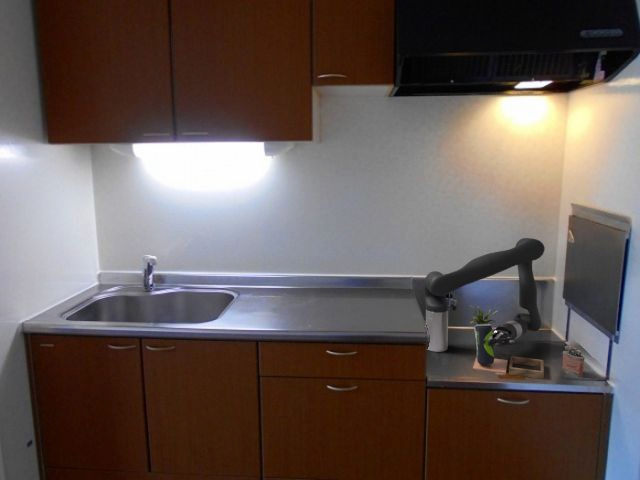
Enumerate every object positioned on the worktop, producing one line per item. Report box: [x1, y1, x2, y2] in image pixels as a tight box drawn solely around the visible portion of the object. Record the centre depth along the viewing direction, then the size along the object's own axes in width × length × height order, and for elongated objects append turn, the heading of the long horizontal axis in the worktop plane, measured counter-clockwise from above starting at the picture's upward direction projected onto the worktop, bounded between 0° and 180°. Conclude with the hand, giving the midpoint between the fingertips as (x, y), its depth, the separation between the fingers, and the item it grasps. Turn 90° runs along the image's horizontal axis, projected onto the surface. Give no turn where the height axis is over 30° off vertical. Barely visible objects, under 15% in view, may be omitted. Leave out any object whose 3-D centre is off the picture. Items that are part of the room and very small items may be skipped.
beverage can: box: [475, 323, 495, 364], centre depth 195 cm, size 6×6×15 cm
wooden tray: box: [508, 355, 545, 380], centre depth 190 cm, size 12×12×2 cm
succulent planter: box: [561, 345, 585, 378], centre depth 186 cm, size 8×3×10 cm, turn 29°
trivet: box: [472, 355, 509, 375], centre depth 195 cm, size 12×12×1 cm
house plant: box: [468, 305, 499, 339], centre depth 220 cm, size 14×14×16 cm
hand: (486, 342), depth 191 cm, fingers closed on beverage can, 1 cm apart
